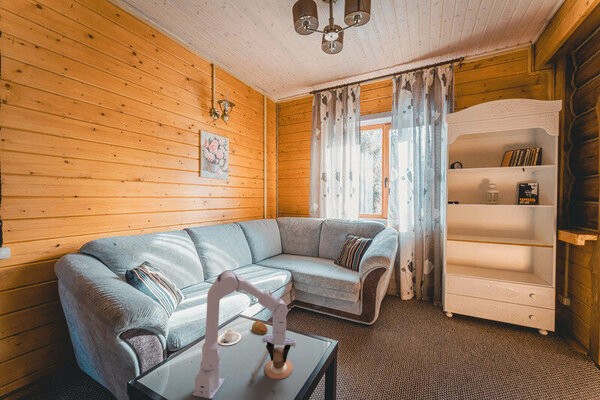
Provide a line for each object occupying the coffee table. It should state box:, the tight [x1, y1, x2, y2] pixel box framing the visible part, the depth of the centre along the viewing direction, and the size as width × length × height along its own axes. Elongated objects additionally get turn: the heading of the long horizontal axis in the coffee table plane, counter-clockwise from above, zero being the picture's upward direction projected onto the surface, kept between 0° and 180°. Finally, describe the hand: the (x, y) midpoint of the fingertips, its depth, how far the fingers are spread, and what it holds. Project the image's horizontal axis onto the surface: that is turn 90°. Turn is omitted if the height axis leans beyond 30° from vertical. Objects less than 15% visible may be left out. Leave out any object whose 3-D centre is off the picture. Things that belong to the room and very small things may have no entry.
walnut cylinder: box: [273, 346, 285, 368], centre depth 105 cm, size 5×5×6 cm
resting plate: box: [264, 359, 294, 380], centre depth 105 cm, size 12×12×1 cm
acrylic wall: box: [251, 347, 270, 382], centre depth 106 cm, size 18×1×3 cm, turn 168°
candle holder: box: [218, 328, 242, 346], centre depth 126 cm, size 12×12×4 cm
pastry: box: [251, 320, 269, 335], centre depth 134 cm, size 9×7×4 cm
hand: (278, 360), depth 105 cm, fingers closed on walnut cylinder, 5 cm apart
